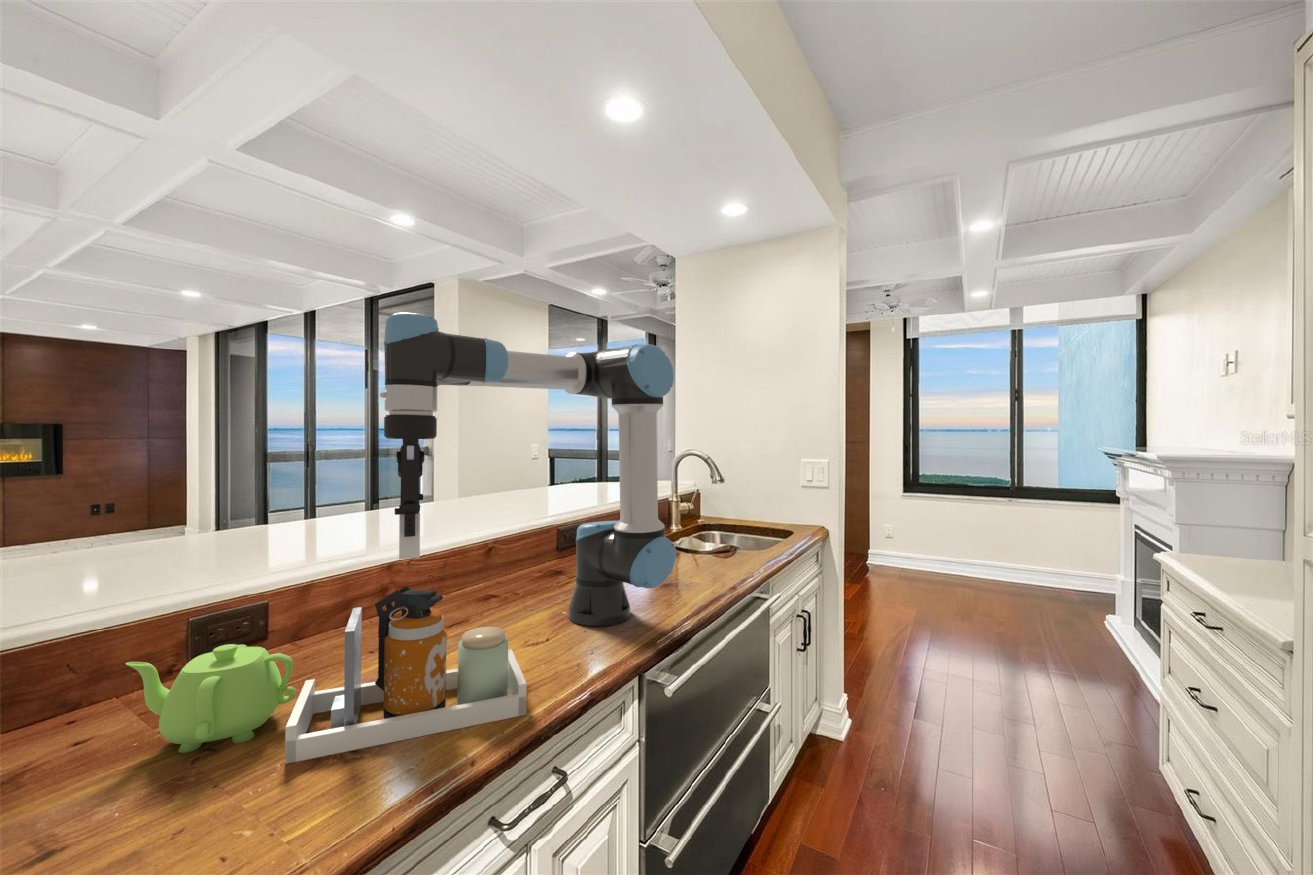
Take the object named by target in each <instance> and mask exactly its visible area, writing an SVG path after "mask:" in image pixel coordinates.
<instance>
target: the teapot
mask: <svg viewBox="0 0 1313 875" xmlns="http://www.w3.org/2000/svg"><path fill="white" fill-rule="evenodd" d="M275 661H276V662H282V663H283V664H284V666H285V669H284V670H285V671H284V675H283V678H282V676H281V673H280V670H279V667H278V666H277V664H276V662H275ZM125 665H126V666H128V667H130V668H132V669H134V670H136V671H137V672H138V673H139V675H140V676H141V679H142V683H143V695H144V701H145V704H146V706H147V708H148V709H149V710H150V711H151V712H152V713H153V714H155V715H158V716H159V720H158V730H159V732H160V734H161V735H162V736H163V737H164V738H165V739H166V740H167V741H169V742H170V743H172V744H175V745H176V744H177V745H180V746H179V748H178V750H177V752H178V753H181V754H185V753H190V752H194V751H195V750H197V749H199V748H200V747H201V746H202V745H203V743H208V742H214V741H219V740H223V739H227V738H231V737H232V738H231V740H232V742H233V743H234V744H240V743H244V742H247V741H250V740H252V739H253V738H254V737H255V733H254V731H253V730H255V729H257V728H259V727H260V726H262V725H263V724H265V723H266V722H267V721H268V719H270V717H271V715H273V713H274V711H275V710H276V709H277V707H278V706H279V704H282V705H283V704H287V703H289V702H292V701H293V700H294V699H295V697H296V694H297V691H296V688H295V687H293V686H288V683H289V682H290V679H291V677H292V673H293V671H294V670H293V669H294V662H293V659H292V658H291V657H290V656H289V655H287V654H284V653H279V652H278V653H273V654H270V653H269V652H268V651H267V649H266V648H264V647H261V646H248V645H246V644H235V643H231V644H230V643H229V644H228V643H227V644H224V645H220V646H218V647H217V646H216V647H214V648H213V650H212V651H210V652H205V653H202V654H200V655H198V656H196V657H194V658H192V659H191V660H190V661H188V662H187V663H186V664H185V665H184V666H183V667H182V668H181V670H180V672H179V673H178V675H177V676H176V678H175V680H174V682H173V683H172V685H171V688H170V689H168V688H167V687H166V686H164V685H163V684H162V682H161V680H160V676H159V673H158V670H157V668H156V667H155V666H154V665H153V664H151V663H149V662H144V661H129V662H125ZM286 692H287V693H289V695H285V693H286Z"/></svg>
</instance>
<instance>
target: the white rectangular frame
mask: <svg viewBox="0 0 1313 875" xmlns="http://www.w3.org/2000/svg"><path fill="white" fill-rule="evenodd" d="M315 681H316V679H306V680H305V681H304V685H303V686H302V688H301V691H300V693H299V695H298V698H297V701H296V703H295V705H294V707H293V709H292V712H291V714H290V717H289V718H288V721H287V723H286V725H285V744H284V746H285V748H284V749H285V751H284V752H285V753H284V754H285V755H284V756H285V757H284V758H285V759H284V761H285V762H284V764H285V765H287V764H292V763H298V762H302V761H308V760H313V759H316V758H322V757H326V756H330V755H331V756H332V755H336V754H342V753H346V752H350V751H351V752H352V751H355V750H360V749H365V748H370V747H375V746H379V745H380V746H381V745H385V744H389V743H394V742H395V743H396V742H399V741H400V742H401V741H404V740H405V741H406V740H409V739H414V738H420V737H423V736H429V735H434V734H438V733H442V732H448V731H453V730H458V729H463V728H467V727H468V728H469V727H472V726H477V725H483V724H486V723H487V724H488V723H492V722H498V721H502V720H507V719H511V718H516V717H521V716H526V715H527V682H526V679H525V677H524V674H523V672H522V670H521V667H520V666H519V663H518V660H517V659H516V656H515V653H514V651H513V649H512V648H510V649H509V648H508V692H509V694H510V695H508V696H504V697H499V698H493V699H488V700H483V701H477V702H472V703H467V704H461V705H457V704H456V705H451V706H445V708H440V709H435V710H429V711H424V712H419V713H413V714H408V715H403V716H397V717H392V718H387V719H384V718H382V719H378V720H377V719H376V720H371V721H365V722H361V723H357V724H355V725H349V726H344V727H339V728H333V729H331V728H329V729H323V730H319V731H318V730H317V731H312V732H309V733H307V732H308V729H309V726H310V724H311V721H312V718H313V716H314V714H321V713H326V712H331V709H332V705H333V702H334V699H335V696H340V695H344V686H341V687H335V688H334V687H333V688H327V689H323V690H315V689H316V687H315V685H316V682H315ZM375 682H376V681H373V682H372V681H371V682H366V683H365V682H364V683H361V706H365V705H372V704H377V703H384V691H383V690H382V689H381V688H379V687H378V686H377V685H376V684H375ZM452 690H458V668H452V669H446V691H452Z"/></svg>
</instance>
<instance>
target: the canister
mask: <svg viewBox="0 0 1313 875" xmlns="http://www.w3.org/2000/svg"><path fill="white" fill-rule="evenodd" d="M443 598H444V595H442V594H440V593H438V594H437V590H435V589H429V590H424V589H423V590H422V589H411V588H410V587H409V586H407V585H406V586H404V587H402V588H401V589H397V590H395V591H393V592H392V593H390V594H388V595H386V596H385V597H383V598H382V599H380V600H379V601H377V602H376V603H374V607H375V610H376V612H377V617H378V631H377V634H378V635H377V637H378V652H377V653H378V655H377V656H378V657H377V659H378V662H377V663H378V664H377V669H378V670H377V679H376V681H374V682H375V684H376V685H377V686H378V687H379V688H381V689H382V690H383V691H384V701H383V714H382V715H383V719H387V718H392V717H397V716H403V715H408V714H413V713H419V712H424V711H429V710H435V709H440V708H445V707H447V706H446V702H447V701H446V700H447V699H446V696H447V690H446V670H447V648H448V646H447V642H448V641H447V640H448V639H447V637H448V630H447V629H446V628H445V627H444V615H443V613H442V612H441V611H440V610H439V609H436V608H433V607H435V605H436V604H437V603H439V602H441V601H442V600H443ZM392 603H393V604H394V605H393V604H392ZM383 607H386V609H385V610H384V609H383Z"/></svg>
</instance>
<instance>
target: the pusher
mask: <svg viewBox="0 0 1313 875" xmlns="http://www.w3.org/2000/svg"><path fill="white" fill-rule="evenodd" d="M362 608H363V607H360V606H359V607H352V610H351V613H350V617H349V618H348V620H347V621H348V622H347V624H346V628H345V630H344V680H343V681H344V686H343V687H344V695H340V696H335V699H334V702H333V705H332V709H331V711H330V729H333V728H339V727H344V726H349V725H355V724H358V720H359V716H360V710H361V707H362V705H361V684H362V623H363V622H362V619H363V618H362V615H363V614H362V613H363V611H362Z"/></svg>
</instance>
